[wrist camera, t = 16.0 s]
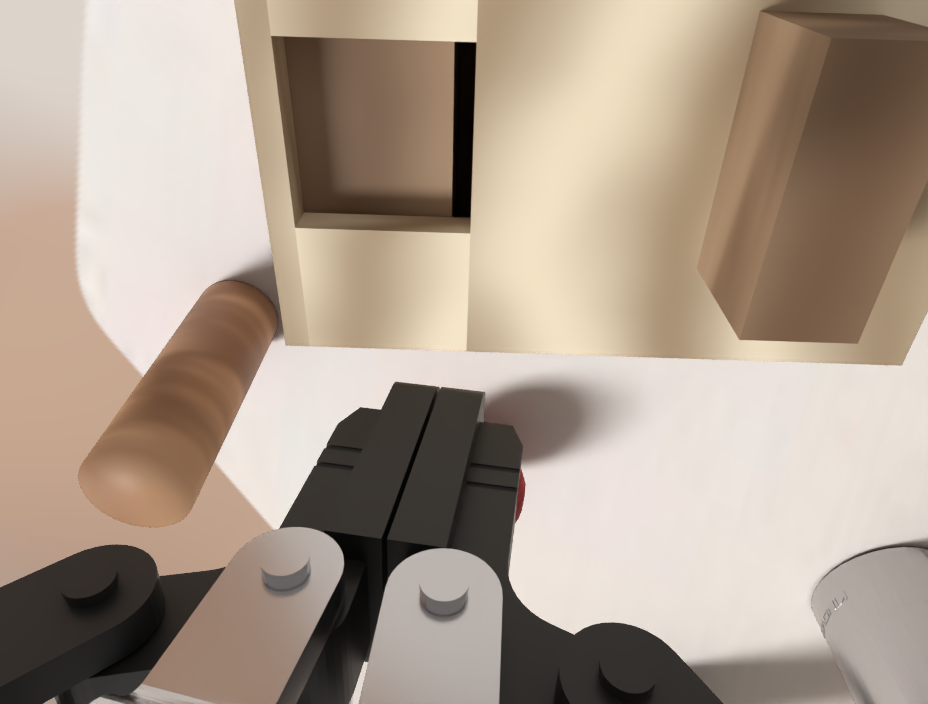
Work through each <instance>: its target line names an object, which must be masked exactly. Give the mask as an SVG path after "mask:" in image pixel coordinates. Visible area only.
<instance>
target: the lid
mask: <svg viewBox="0 0 928 704" xmlns="http://www.w3.org/2000/svg"><path fill="white" fill-rule="evenodd" d="M234 3H235V9H236V16H237V23H238V29H239V36H240V43H241V49H242V56H243V63H244V69H245V76H246V83H247V90H248V96H249V103H250V110H251V116H252V123H253V130H254V136H255V143H256V150H257V156H258V163H259V170H260V177H261V183H262V190H263V197H264V203H265V210H266V217H267V223H268V230H269V237H270V243H271V250H272V257H273V264H274V270H275V277H276V284H277V290H278V297H279V304H280V310H281V317H282V324H283V331H284V337H285V344H286V345H289V346H319V347H350V348H381V349H411V350H442V351H473V352H504V353H534V354H565V355H596V356H626V357H657V358H688V359H718V360H749V361H780V362H811V363H841V364H872V365H902V364H903V362H904V360H905V358H906V355H907V353H908V351H909V349H910V347H911V345H912V343H913V341H914V339H915V337H916V335H917V333H918V330H919V328H920V326H921V324H922V322H923V320H924V318H925V316H926V314H927V312H928V0H234ZM284 36H289V37H322V38H354V39H386V40H419V41H451V42H477V44H476V75H475V105H474V136H473V166H472V197H471V218H462V217H430V216H399V215H368V214H336V213H305V212H304V209H303V200H302V191H301V183H300V174H299V165H298V157H297V148H296V139H295V131H294V122H293V113H292V105H291V96H290V88H289V79H288V70H287V62H286V53H285V44H284Z"/></svg>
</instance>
